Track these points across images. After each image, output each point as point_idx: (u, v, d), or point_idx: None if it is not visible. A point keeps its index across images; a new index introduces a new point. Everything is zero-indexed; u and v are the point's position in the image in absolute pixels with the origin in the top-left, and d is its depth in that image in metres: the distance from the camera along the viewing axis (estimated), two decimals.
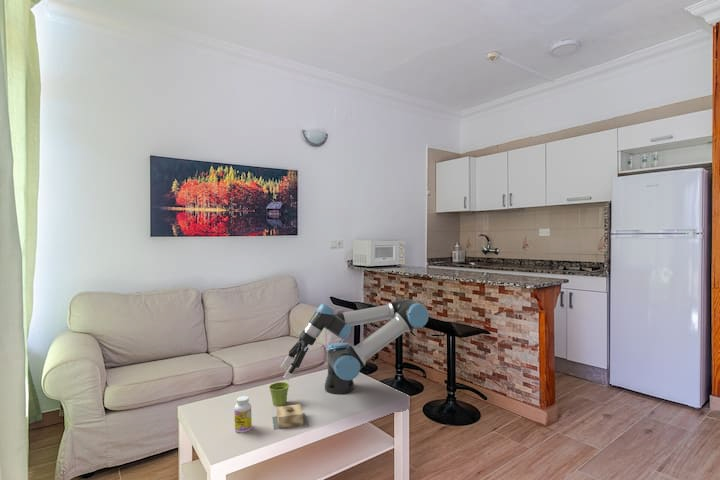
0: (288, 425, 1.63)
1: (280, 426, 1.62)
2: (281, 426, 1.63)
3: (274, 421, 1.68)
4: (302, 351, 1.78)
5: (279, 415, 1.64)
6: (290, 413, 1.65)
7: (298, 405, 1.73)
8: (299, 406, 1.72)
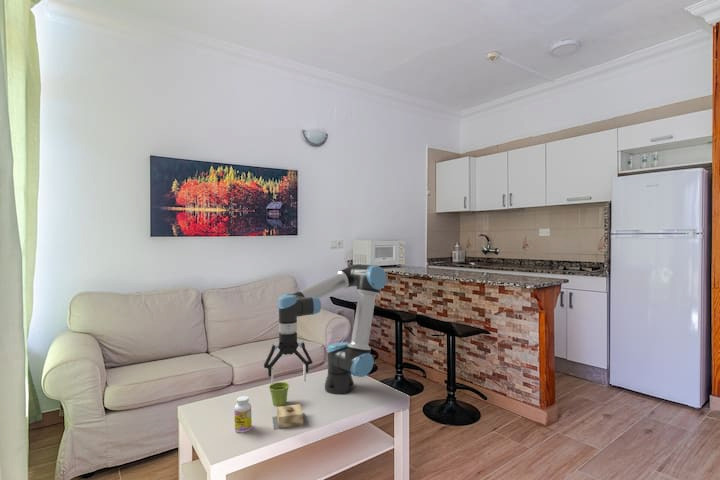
0: (288, 425, 1.63)
1: (280, 426, 1.62)
2: (281, 426, 1.63)
3: (274, 421, 1.68)
4: None
5: (279, 415, 1.64)
6: (290, 413, 1.65)
7: (298, 405, 1.73)
8: (299, 406, 1.72)
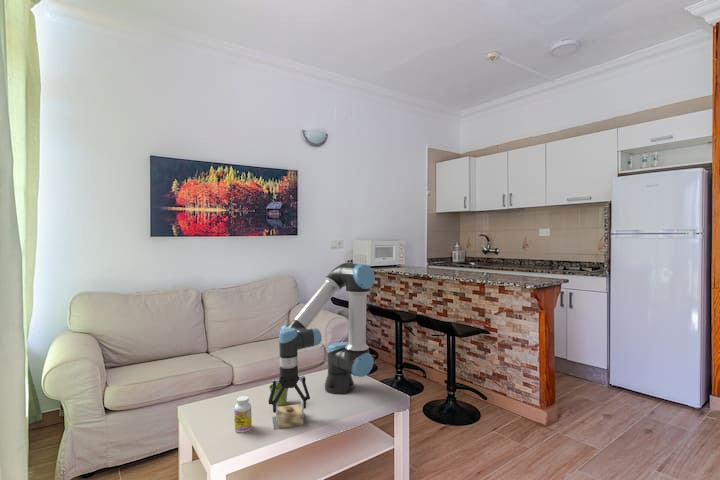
0: (288, 425, 1.63)
1: (280, 426, 1.63)
2: (281, 426, 1.63)
3: (274, 421, 1.68)
4: (305, 383, 1.69)
5: (279, 415, 1.64)
6: (290, 413, 1.65)
7: (298, 405, 1.73)
8: (299, 406, 1.72)
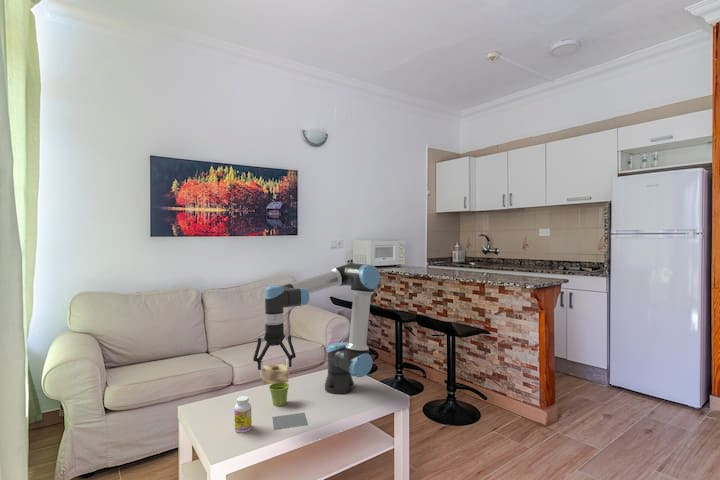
0: (273, 382, 1.61)
1: (265, 383, 1.60)
2: (266, 383, 1.60)
3: (274, 421, 1.68)
4: None
5: (264, 372, 1.61)
6: (275, 370, 1.63)
7: (284, 364, 1.71)
8: (285, 365, 1.70)
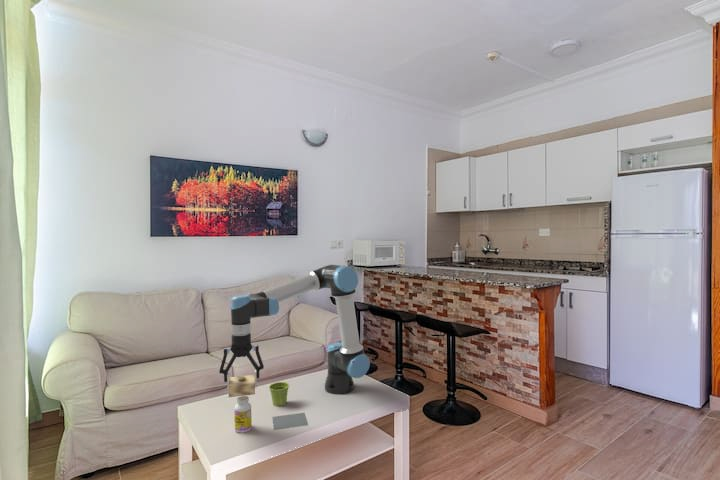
0: (239, 394, 1.57)
1: (230, 395, 1.56)
2: (231, 395, 1.56)
3: (274, 421, 1.68)
4: (258, 352, 1.63)
5: (230, 384, 1.57)
6: (242, 382, 1.59)
7: (252, 375, 1.67)
8: (253, 376, 1.66)
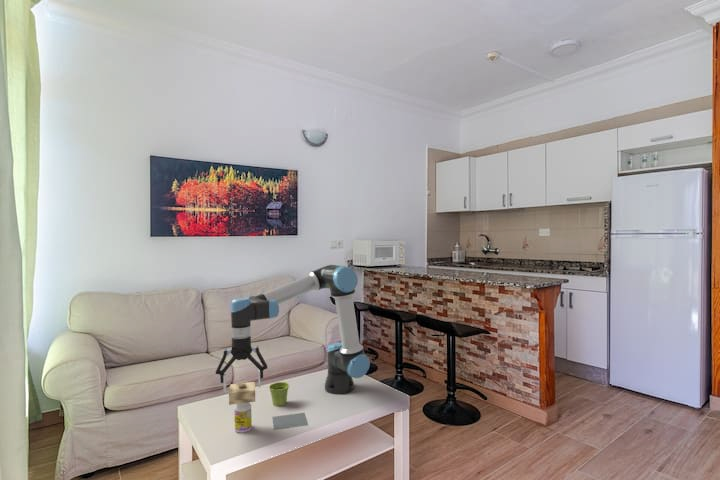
0: (239, 402, 1.57)
1: (231, 403, 1.56)
2: (232, 403, 1.56)
3: (274, 421, 1.68)
4: (259, 353, 1.63)
5: (230, 391, 1.58)
6: (242, 390, 1.59)
7: (252, 382, 1.67)
8: (253, 383, 1.66)
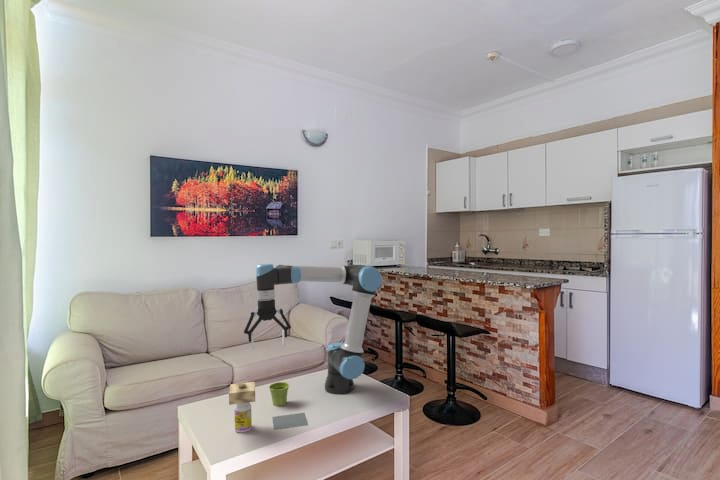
0: (239, 402, 1.57)
1: (231, 403, 1.56)
2: (232, 403, 1.56)
3: (274, 421, 1.68)
4: (283, 314, 1.77)
5: (230, 391, 1.58)
6: (242, 390, 1.59)
7: (252, 382, 1.67)
8: (253, 383, 1.66)
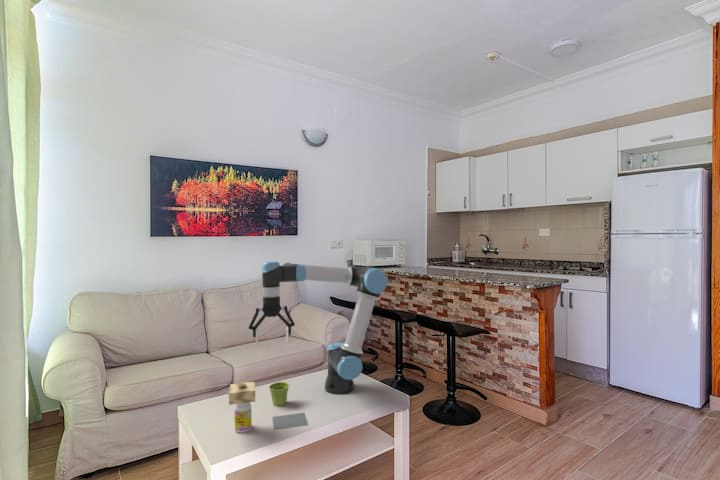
0: (239, 402, 1.57)
1: (231, 403, 1.56)
2: (232, 403, 1.56)
3: (274, 421, 1.68)
4: (287, 311, 1.80)
5: (230, 391, 1.58)
6: (242, 390, 1.59)
7: (252, 382, 1.67)
8: (253, 383, 1.66)
